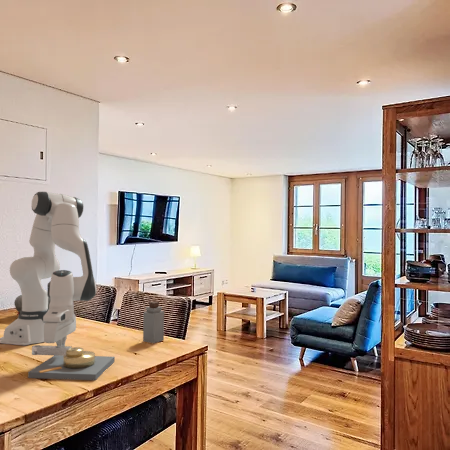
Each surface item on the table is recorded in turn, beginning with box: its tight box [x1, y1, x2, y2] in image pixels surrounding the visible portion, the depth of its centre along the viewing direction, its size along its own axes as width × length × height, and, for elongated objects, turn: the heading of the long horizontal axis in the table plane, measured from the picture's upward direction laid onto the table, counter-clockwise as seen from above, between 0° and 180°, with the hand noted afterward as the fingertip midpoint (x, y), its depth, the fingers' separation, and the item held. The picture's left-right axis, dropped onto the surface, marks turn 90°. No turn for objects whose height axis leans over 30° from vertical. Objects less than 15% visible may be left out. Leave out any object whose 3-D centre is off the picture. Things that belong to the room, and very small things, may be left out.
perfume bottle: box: [142, 301, 165, 344], centre depth 193 cm, size 7×7×18 cm
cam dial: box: [31, 344, 96, 368], centre depth 152 cm, size 24×11×6 cm, turn 87°
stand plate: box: [27, 355, 115, 381], centre depth 152 cm, size 24×20×2 cm
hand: (60, 348), depth 158 cm, fingers closed
